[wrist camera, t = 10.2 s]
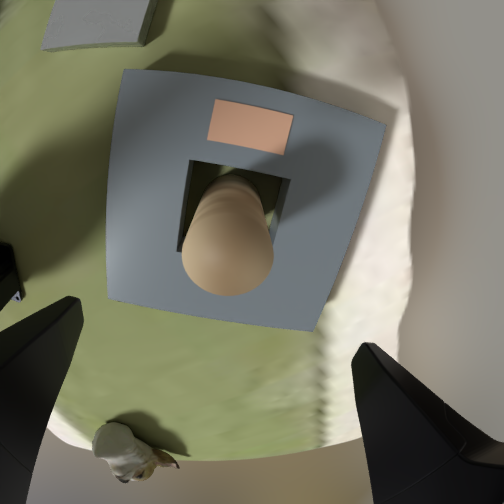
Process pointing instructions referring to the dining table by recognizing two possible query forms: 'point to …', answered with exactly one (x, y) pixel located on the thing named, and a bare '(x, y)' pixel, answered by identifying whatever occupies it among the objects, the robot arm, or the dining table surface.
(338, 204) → the hole plate
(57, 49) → the plate
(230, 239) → the peg
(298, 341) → the dining table surface
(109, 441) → the ceramic sculpture
